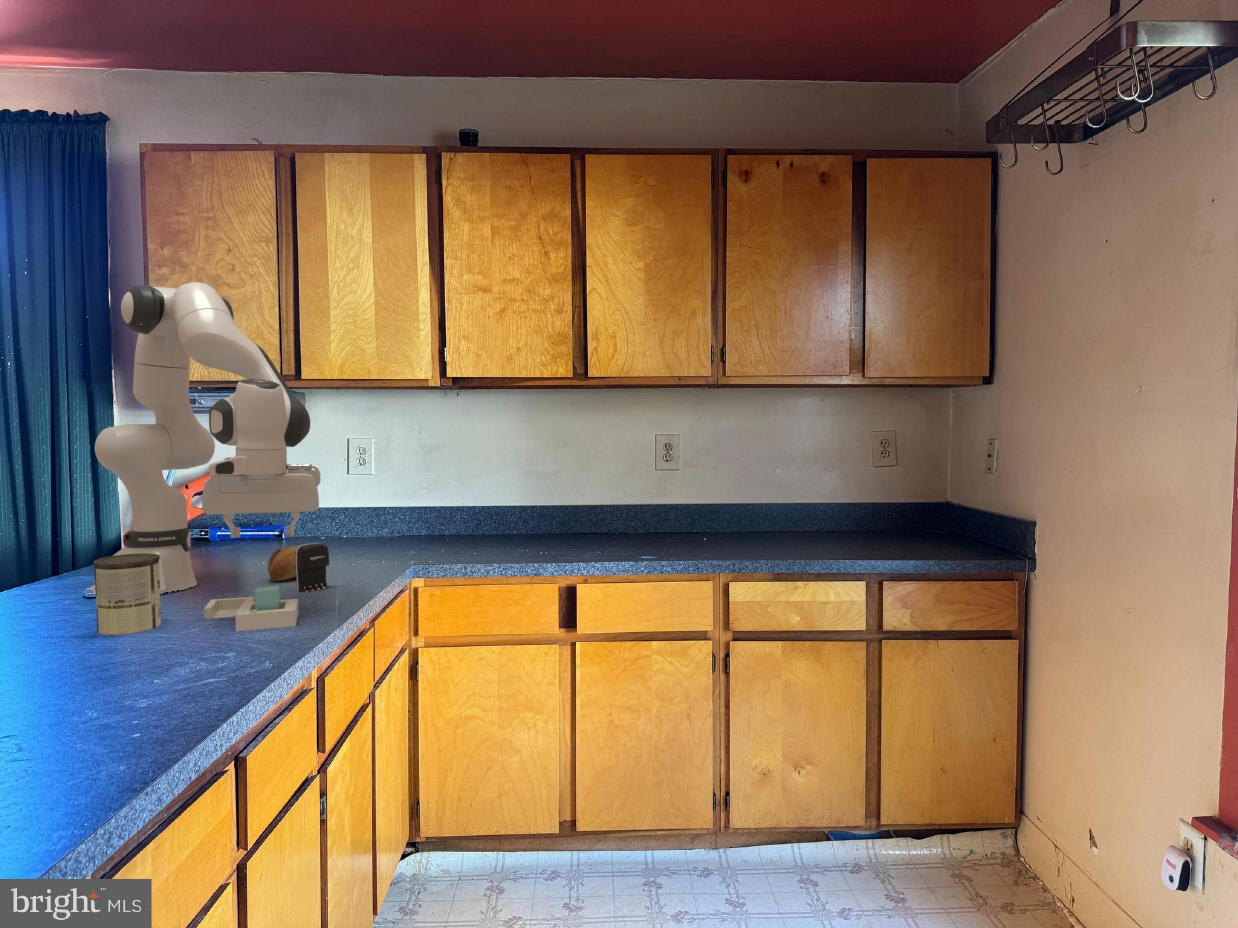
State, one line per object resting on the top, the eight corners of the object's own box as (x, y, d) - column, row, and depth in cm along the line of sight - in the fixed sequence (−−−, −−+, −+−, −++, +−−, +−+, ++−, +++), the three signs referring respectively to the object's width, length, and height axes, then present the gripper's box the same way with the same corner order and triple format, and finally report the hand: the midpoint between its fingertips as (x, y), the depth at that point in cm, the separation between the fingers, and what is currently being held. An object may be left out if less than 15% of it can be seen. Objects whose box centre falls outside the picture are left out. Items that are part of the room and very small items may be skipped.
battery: (304, 597, 168) (302, 546, 168) (294, 595, 170) (293, 545, 170) (332, 591, 174) (331, 543, 173) (323, 589, 176) (322, 541, 175)
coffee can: (88, 633, 139) (85, 558, 138) (150, 622, 147) (147, 551, 146) (107, 644, 133) (104, 565, 132) (171, 631, 141) (168, 557, 140)
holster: (204, 623, 146) (203, 608, 146) (211, 614, 153) (210, 599, 153) (249, 620, 149) (249, 605, 148) (254, 610, 156) (254, 596, 156)
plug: (255, 628, 141) (254, 591, 140) (258, 622, 145) (257, 586, 144) (279, 626, 142) (278, 589, 142) (280, 620, 146) (279, 585, 146)
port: (236, 636, 137) (235, 612, 137) (243, 623, 146) (242, 600, 146) (295, 631, 140) (294, 608, 140) (298, 618, 150) (298, 596, 150)
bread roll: (256, 583, 184) (255, 551, 184) (293, 571, 199) (292, 541, 198) (291, 584, 182) (290, 552, 182) (326, 572, 197) (325, 542, 197)
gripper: (320, 462, 150) (321, 531, 150) (205, 463, 143) (206, 535, 144) (319, 464, 144) (320, 536, 145) (199, 466, 137) (200, 541, 138)
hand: (262, 536), depth 144 cm, fingers open, 8 cm apart
